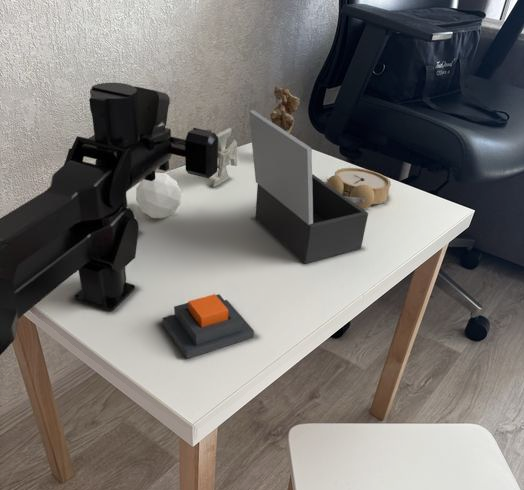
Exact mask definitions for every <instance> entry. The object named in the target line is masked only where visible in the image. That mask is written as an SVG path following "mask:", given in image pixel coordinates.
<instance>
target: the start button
mask: <svg viewBox="0 0 524 490" xmlns="http://www.w3.org/2000/svg"><path fill="white" fill-rule="evenodd" d="M216 295H217V294H215V293H213V294H210V295H206V296H203V297H199V298H195V299H192V300H188V301H187V303H188V312H189V313H190V314H191V315H192V317H193V318H194V319H195V321H196V322H197V323H198V324H199V326H200V327H201V328H202V327H205V326H209V325H212V324H215V323H219V322H222V321H225V320H228V309H227V308H226V306H225V305H224V304H223V303H222V302H221V301H220V300H219V298H218V297H217V296H216Z"/></svg>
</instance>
